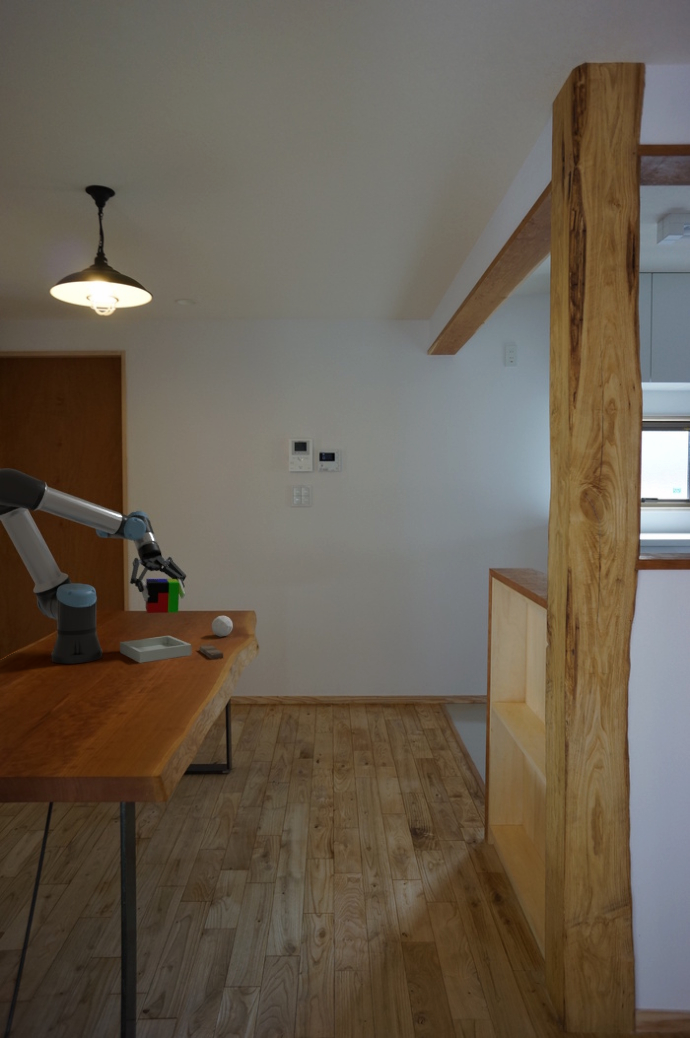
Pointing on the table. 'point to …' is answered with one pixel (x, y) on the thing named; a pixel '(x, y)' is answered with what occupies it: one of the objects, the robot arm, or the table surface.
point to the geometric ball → (222, 626)
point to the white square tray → (155, 649)
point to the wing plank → (211, 652)
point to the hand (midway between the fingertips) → (165, 597)
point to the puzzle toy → (162, 596)
